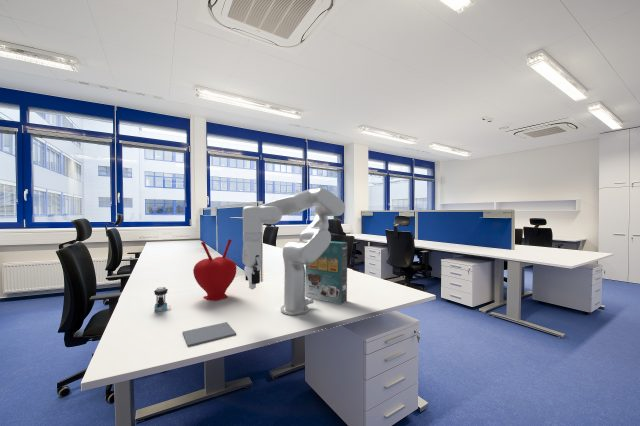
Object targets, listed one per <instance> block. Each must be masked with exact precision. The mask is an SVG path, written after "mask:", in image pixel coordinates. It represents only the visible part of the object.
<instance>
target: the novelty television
mask: <svg viewBox="0 0 640 426" xmlns="http://www.w3.org/2000/svg"><path fill="white" fill-rule="evenodd" d="M232 241H233V240H232V239H231V238H229V239H227V243H226V246H225V249H224V252H223V255H222V256H217V257H214V258H213V257H212V255H211V253H210V251H209V249H208V247H207V245H206V241H201V242H200V244H201V246H202V248H203V249H204V251H205V253H206V255H207V258H203V259H201V260H199V261H198V262H197V263H195V265H194V267H193V269H192V272H193V276H194V278H195V279H194V280H195V281H196V283H197V284H198V286H199V287H200V288H201V289H202V290H203V291H204V292H205V293H206V295H204V296H203V299H205V300H207V301H214V302H215V301H219V300H224V299H227V298H228V295H227V293H226V292H227V290H228V288H229V287H230V286H231V284H232V283H233V282H234V280H235V278H236V275H237V274H236V273H237V264H236V262H235V261H234V260H232V259H230V258H228V257H226V256H227V253H228V251H229V248H230V245H231V243H232Z"/></svg>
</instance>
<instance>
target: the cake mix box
mask: <svg viewBox="0 0 640 426" xmlns="http://www.w3.org/2000/svg"><path fill="white" fill-rule="evenodd" d="M306 297H307V298H310V299H313V300H314V299H315V300H319V301H325V302H328V303H334V304H338V305H343V304H344V303H346V302H347V301H348V242H345V241H334V240H332V241H331V242H330V244H329V246H328V248H327V249H326V250H325V251H324V252H323V254H322V255H321V256H320V257H319V258H318V259H317V260H316V261H315V262H314V263H313V264H310V265H305V298H306Z"/></svg>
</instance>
